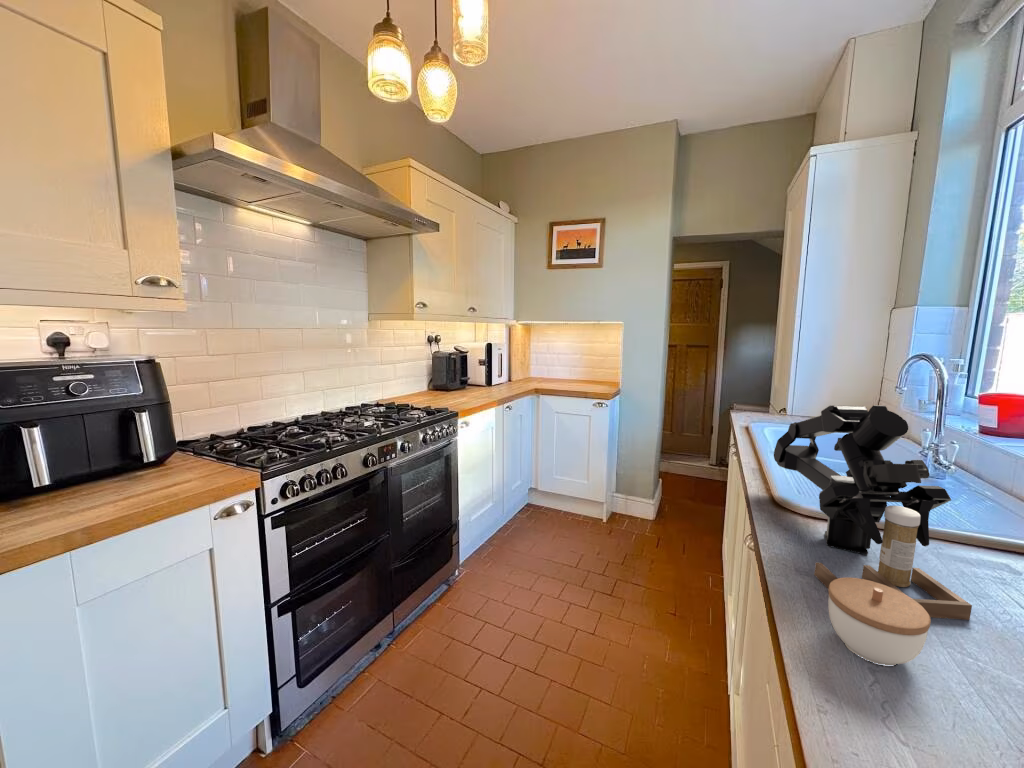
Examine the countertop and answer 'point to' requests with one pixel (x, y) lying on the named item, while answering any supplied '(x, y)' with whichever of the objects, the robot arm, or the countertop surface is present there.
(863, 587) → the lidded jar
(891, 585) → the walnut lanes
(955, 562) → the countertop surface
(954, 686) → the countertop surface
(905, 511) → the sprinkles bottle
